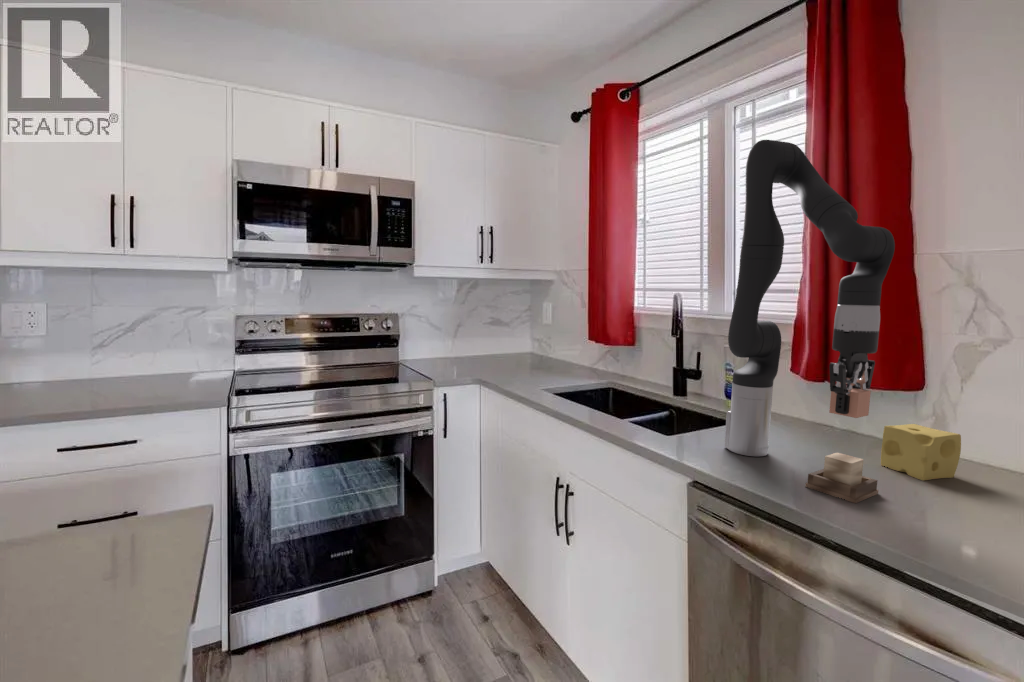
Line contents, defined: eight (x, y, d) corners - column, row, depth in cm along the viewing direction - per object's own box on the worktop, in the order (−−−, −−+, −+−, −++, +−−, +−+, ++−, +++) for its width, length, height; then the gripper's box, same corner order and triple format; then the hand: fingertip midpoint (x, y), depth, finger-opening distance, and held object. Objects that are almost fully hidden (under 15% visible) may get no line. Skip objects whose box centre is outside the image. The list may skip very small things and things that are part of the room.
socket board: (805, 486, 106) (806, 473, 105) (828, 478, 111) (829, 466, 111) (855, 503, 98) (857, 489, 98) (878, 493, 103) (879, 480, 103)
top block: (829, 412, 103) (831, 388, 103) (841, 410, 106) (843, 386, 106) (856, 418, 99) (858, 393, 99) (868, 415, 102) (870, 390, 101)
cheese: (923, 481, 111) (928, 437, 110) (876, 465, 121) (880, 423, 120) (958, 478, 113) (963, 434, 112) (909, 462, 124) (913, 421, 123)
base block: (822, 484, 105) (825, 456, 104) (834, 479, 108) (837, 452, 107) (848, 492, 101) (851, 463, 100) (860, 487, 103) (863, 459, 103)
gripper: (852, 326, 108) (845, 404, 110) (817, 327, 100) (810, 411, 102) (893, 328, 102) (885, 412, 103) (859, 330, 94) (851, 420, 96)
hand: (848, 411), depth 103 cm, fingers closed on top block, 5 cm apart
